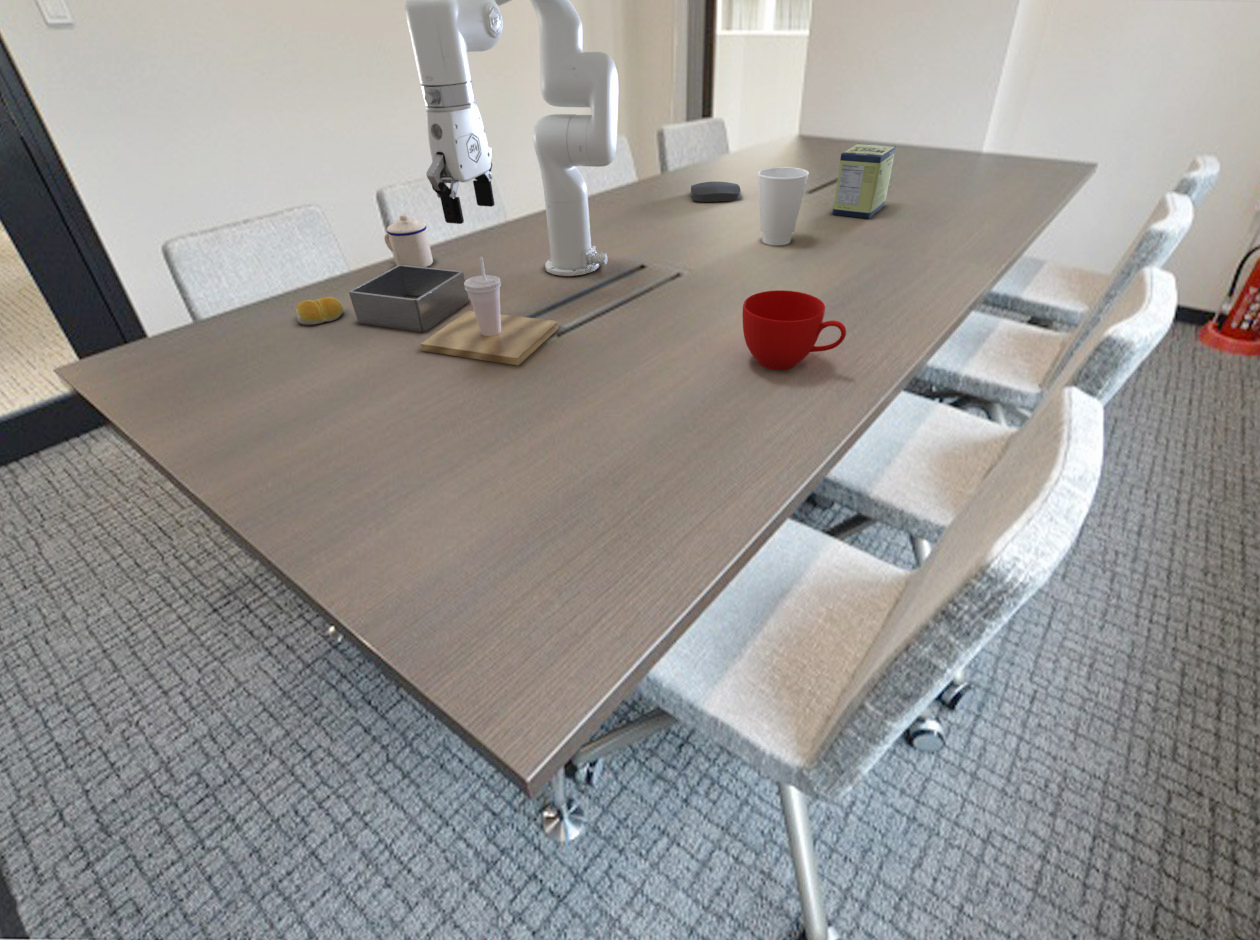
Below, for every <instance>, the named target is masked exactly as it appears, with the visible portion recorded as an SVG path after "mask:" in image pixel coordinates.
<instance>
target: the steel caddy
mask: <svg viewBox="0 0 1260 940" xmlns="http://www.w3.org/2000/svg"><path fill="white" fill-rule="evenodd" d="M465 281H466V280H465V275H464V271H461V270H454V269H444V268H436V267H417V266H408V265H398V266H397V265H396V266H394V267H392V268H390V269H388V270H386V271H384V272H382V273H380V274H379V275H376V276H375V277H373V278H371V279H369V280H368V281H365V282H364V283H362V284H359V285H358V286H355V287H354V288H352V289H350V290H348V294H349V297H350V300H351V304H352V307H353V310H354V314H355V317H356V320H357V323H359V324H360V325H368V326H375V327H380V328H381V327H382V328H390V329H396V330H403V331H409V332H417V333H426V332H428V331H429V330H431V329H432V328H433V327H435V326H437V325H438V324H439V323H441V322H442V321H443V320H445V319H447V318H448V317H450V316H451V315H452V314H454V313H455V312H457V311H458V310H460V309H461V308H463V307H464V306H465V305H467V304H469V303H470V301H469V300H470V299H469V294H468V291H466V290H465V285H464V282H465ZM407 296H410V297H411V296H412V297H417V298H409V297H407Z"/></svg>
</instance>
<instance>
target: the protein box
mask: <svg viewBox="0 0 1260 940" xmlns="http://www.w3.org/2000/svg"><path fill="white" fill-rule="evenodd" d="M895 152H896V145H884V144H871V143H856V144H854V146H852V147H849V149H847V150H845V151H843V152H841V153H840V158H839V165H838V166H839V167H838V173H837V180H836V187H835V193H834V202H833V206H832V207H833V208H832V215H834V216H835V215H836V216H844V217H851V218H852V217H853V218H861V219H869V220H870V219H871V218H873V216H874V215H875V214H876V213H878V212H879V211H880V210H882V208H883V207H885V204H886V199H887V195H888V189H889V184H890V179H891V175H892V174H891V173H892V168H893V165H894V164H893V163H894V158H895Z"/></svg>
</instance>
